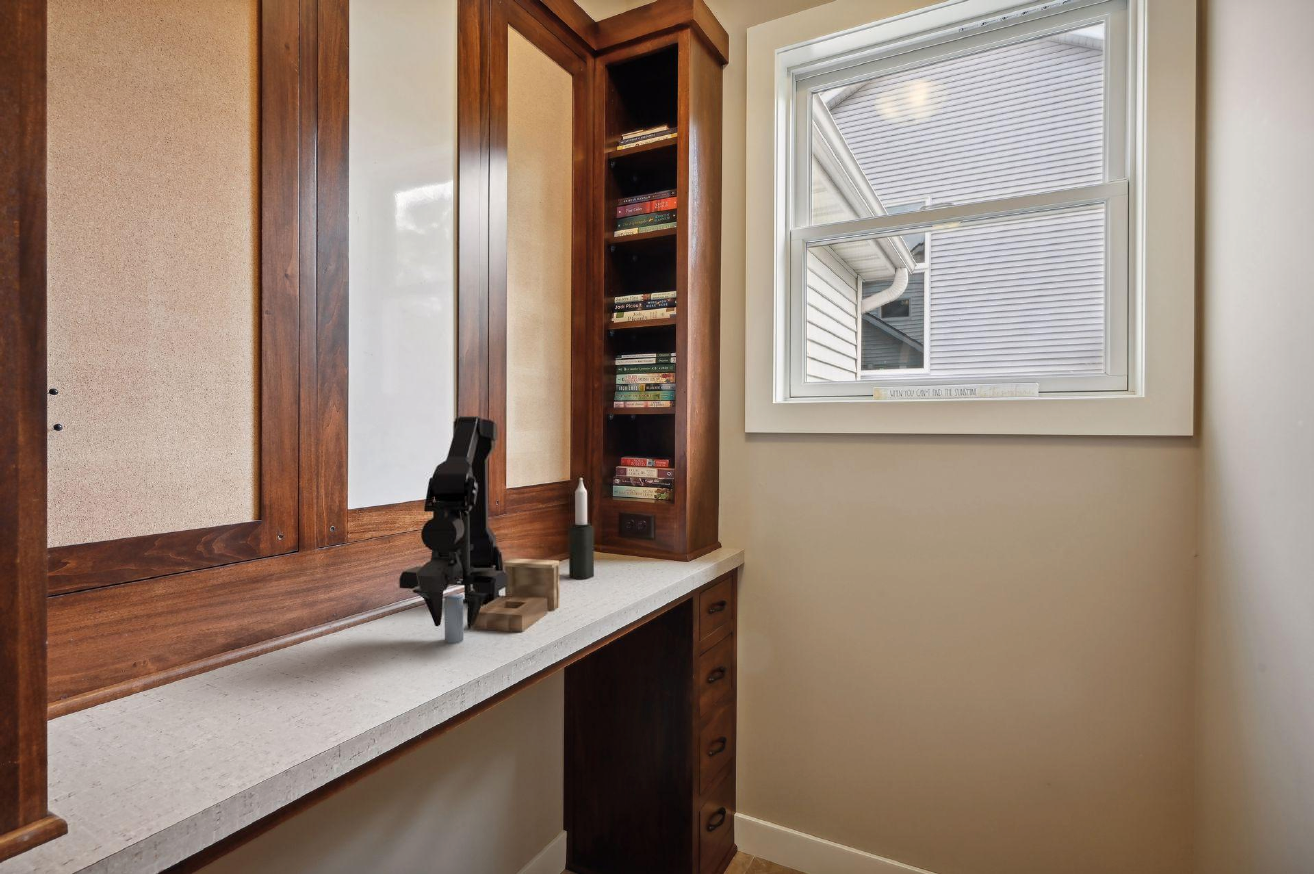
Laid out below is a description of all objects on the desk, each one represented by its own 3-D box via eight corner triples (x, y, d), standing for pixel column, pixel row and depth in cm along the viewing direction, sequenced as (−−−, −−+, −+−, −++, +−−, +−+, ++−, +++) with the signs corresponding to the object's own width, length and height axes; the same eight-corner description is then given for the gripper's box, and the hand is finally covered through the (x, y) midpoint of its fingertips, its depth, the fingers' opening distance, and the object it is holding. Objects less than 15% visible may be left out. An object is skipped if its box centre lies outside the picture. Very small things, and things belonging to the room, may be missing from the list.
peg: (441, 642, 119) (440, 598, 119) (450, 637, 122) (450, 593, 122) (457, 644, 118) (457, 599, 118) (466, 638, 121) (466, 594, 121)
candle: (567, 577, 167) (566, 478, 167) (578, 573, 172) (578, 476, 171) (584, 580, 165) (583, 479, 164) (595, 575, 169) (595, 477, 169)
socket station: (471, 628, 127) (470, 577, 127) (511, 603, 144) (511, 558, 144) (524, 632, 125) (524, 580, 124) (559, 606, 142) (559, 560, 141)
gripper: (378, 547, 114) (380, 637, 114) (478, 551, 110) (479, 645, 110) (416, 535, 125) (417, 618, 125) (508, 539, 121) (509, 625, 121)
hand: (454, 627), depth 120 cm, fingers open, 6 cm apart
